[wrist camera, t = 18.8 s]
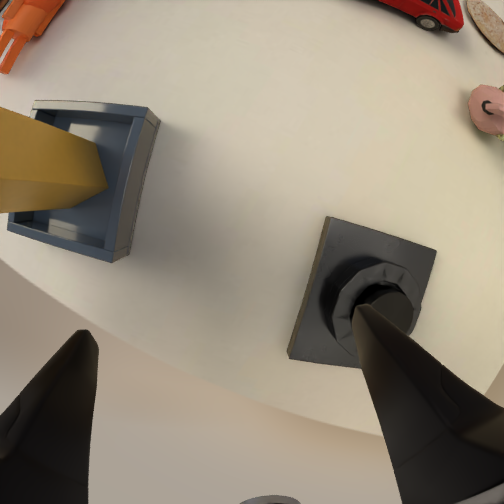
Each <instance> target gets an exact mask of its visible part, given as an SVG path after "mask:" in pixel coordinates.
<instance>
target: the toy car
mask: <svg viewBox="0 0 504 504" xmlns="http://www.w3.org/2000/svg"><path fill="white" fill-rule="evenodd" d="M378 1H381V2H383V3H385V4H388V5H390V6H392V7H395V8H397V9H399V10H401V11H404V12H406V13H408V14H410V15H412V16H414V17H415V18H416V22H417V24H418V26H419V27H421V28H422V29H425V30H435V29H437V28H438V27H439V24H441V27H440V30H441V31H446V32H449V33H458V32H459V30H460V29H461V28H462V26H463V25H464V20H463V15H462V10H461V6H460V3H459V1H458V0H378ZM424 20H425V21H424ZM427 20H428V21H427ZM423 22H424V23H423Z"/></svg>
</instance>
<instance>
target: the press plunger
mask: <svg viewBox="0 0 504 504" xmlns="http://www.w3.org/2000/svg"><path fill="white" fill-rule="evenodd" d="M363 304H369V305H370V306H372V307H373V308H374V309H375V310H377V311H378V312H379V313H380V314H382V315H383V316H384V317H385V318H387V319H388V320H389V321H390V322H392V323H393V324H394V325H395V326H397V327H398V328H399V329H400V330H401V331H403V332H404V333H405V334H406V333H407V332H408V330H409V328H410V326H411V324H412V320H413V306H412V303H411V301H410V300H409V298H408V297H407V296H406V295H404V294H402V293H401V292H399V291H397V290H395V289H394V288H392V287H390V286H387V285H377V286H374V287H372V288H370V289H368V290H367V291H365V292H364V293H363V294H362V295H361V296H360V298H359V299H358V301H357V303H356V305H355V308H356V306H358V305H363ZM355 308H354V311H355ZM353 315H354V312H353Z"/></svg>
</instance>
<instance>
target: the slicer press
mask: <svg viewBox="0 0 504 504" xmlns="http://www.w3.org/2000/svg"><path fill="white" fill-rule="evenodd" d="M436 252H437V251H436V250H434V249H431V248H428V247H425V246H422V245H419V244H416V243H413V242H411V241H408V240H404V239H401V238H398V237H395V236H392V235H389V234H386V233H383V232H380V231H377V230H373V229H370V228H367V227H364V226H360V225H357V224H354V223H350V222H347V221H344V220H340V219H337V218H334V217H328V216H326V219H325V223H324V227H323V230H322V234H321V238H320V242H319V245H318V249H317V253H316V256H315V260H314V264H313V267H312V271H311V274H310V278H309V281H308V284H307V288H306V291H305V295H304V298H303V301H302V305H301V308H300V311H299V314H298V317H297V321H296V324H295V327H294V330H293V333H292V336H291V339H290V343H289V346H288V349H287V354H288V357H289V359H294V360H300V361H306V362H313V363H320V364H327V365H335V366H343V367H352V368H361V365H360V360H359V356H358V352H357V347H356V343H355V339H354V335H353V331H352V319H353V312H354V308H355V305H356V303H357V301H358V299H359V298H360V296H361V295H362V294H363V293H364V292H365V291H367V290H368V289H370V288H372V287H374V286H377V285H387V286H390V287H392V288H394V289H395V290H397V291H399V292H401V293H402V294H404V295H406V296H407V297H408V298H409V300H410V301H411V303H412V306H413V320H412V324H411V326H410V328H409V330H408V332H407V333H406V335H408V336H409V335H410V334H411V333H412V331H413V330H414V327H415V325H416V322H417V319H418V317H419V314H420V311H421V302H422V299H423V296H424V293H425V290H426V287H427V283H428V280H429V277H430V274H431V270H432V267H433V263H434V260H435V256H436ZM361 369H362V368H361Z"/></svg>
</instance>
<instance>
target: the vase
mask: <svg viewBox="0 0 504 504" xmlns="http://www.w3.org/2000/svg"><path fill="white" fill-rule="evenodd" d="M7 2H8V0H0V10H1V9H2V8H3V7H4V6H5V4H6V3H7Z"/></svg>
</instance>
